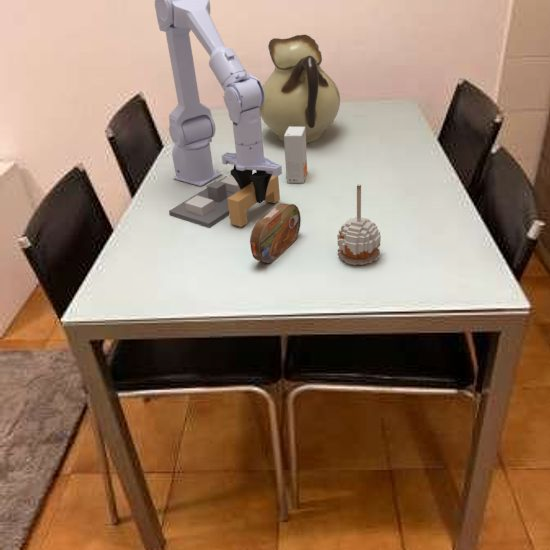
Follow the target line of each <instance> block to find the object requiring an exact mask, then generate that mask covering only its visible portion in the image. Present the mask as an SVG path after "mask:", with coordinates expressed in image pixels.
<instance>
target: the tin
mask: <svg viewBox="0 0 550 550" xmlns="http://www.w3.org/2000/svg"><path fill="white" fill-rule="evenodd" d="M301 221H302V220H301V211H300V210H299V207H298V206H297V205H296V204H295V203H294V204H293V203H285V202H284V203H283V202H282V203H279V204H277V205H276V206H275V207H273V208H272V209H271V210H270V211H269V212H268V213H267V214H265V215H264V216H263V217H262V218H261V219H260V220H259V221H257V223H256V224H255V225H254V226H253V228H252V231H251V233H250V237H249V245H250V251H251V254H252V257H253V258H254V259H255V260H256V261H259V262H264V263H265V264H271V263H273V262H275V261H276V260H277V259H278V258H279V257H280V256H281V255H282V254H284V252H285V251H286V250H287V249H288V248H289V247H291V245H292V244H294V242H295V241H296V240H297V239H298V238H297V237H298V235H299V234H300V229H301Z"/></svg>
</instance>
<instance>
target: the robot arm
mask: <svg viewBox="0 0 550 550" xmlns="http://www.w3.org/2000/svg"><path fill="white" fill-rule="evenodd" d="M154 9H155V12H156V15H155V16H156V20H157V24H158V29H159V31H160V32H164V33H165V37H166V43H167V48H168V53H169V59H170V65H171V70H172V71H171V72H172V75H173V82H174V88H175V93H176V98H177V105H176V106H175V107H174V108H173V110H172V111H170V113H169V115H168V119H169V128H168V130H169V136H170V138H171V141H172V143H173V147H172V152H171V156H172V161H173V169H174V172H175V175H174V176H173V179H174V180H177V181H181V182H183V183H184V182H185V183H188V184H192V185H195V186H198V187H202V186H205V185H206V184H207V183H209V182H211V181H213V180H215V179H216V178H218V177H219V176H221V175H223V174H222V172H221V171H217V170H214V164H213V157H212V156H213V155H212V150H211V143H212V142H213V138H214V137H215V134H216V130H217V129H216V124H215V120H214V118H213V116H212V112H211V109H210V108H209V107H208V106H207V105H206V104H203V103H202V102H201V101H200V96H199V95H200V93H199V88H198V82H197V75H196V68H195V62H194V57H193V49H192V45H191V37H190V32H192V33H193V34H194V36H195V37H196V39H197V40H198V42H199V43H200V44H201V46H202V47H203V49H204V50H205V51H206V53H207V54H208V55H209V57H210V58H209V60H208V65H209V68H210V69H211V71H212V72H213V75H214V76H215V78H216V80H217V81H218V83H219V85H220V86H221V88H222V90H223V91H224V94H223V100H224V101H223V102H224V104H225V107H226V108H227V112H228V117H229V120H230V121H231V122H232V128H233V129H232V130H233V138H234V146H235V147H234V148H235V152H234V153H233V152H228V151H227V152H226V153H223V154H222V155H221V162H222V164H223V165H233V168H232V169H231V170H230V175H232V176H233V177H234V179H235V180H236V182H237V183H238V185H239V187H240V189H243V188H244V187H246V186H248V185H249V184H251V183H253V185H254V189H255V195H256V200H257V203H256V204H261V203H263V202H265V201H264V200H265V198H266V192H267V187H268V184H269V181H270V179H271V176H272V174H273V176H274V177H277V176H278V177H279V176H280V175H282V174H283V168H282V166H283V165H282V164H279V163H277V162H274V161H272V160H271V159H269V158H267V157H266V156H265V151H264V139H263V130H262V118H261V116H260V108H259V107H260V106H262V105H263V104H264V101H265V93H264V89H263V85H262V83H261V80H260V79H259V78H257V77H256V76H254V75H253V74H252V73H250V72H249V73H248V72H247V70H246V69H245V67H244V65H243V64H242V62H241V61H240V59H239V57H238V55H237V54H236V51H235V50H234V49H232V48H231V47H228V46H225V44H224V42H223V39H222V38H221V35H220V34H219V31H218V29H217V27H216V25H215V23H214V21H213V19H212V17H211V3H210V0H154ZM253 171H255V172H254V173H253Z"/></svg>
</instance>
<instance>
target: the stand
mask: <svg viewBox="0 0 550 550" xmlns="http://www.w3.org/2000/svg"><path fill="white" fill-rule="evenodd" d="M240 190H241V189H240V187H239V185H238V183H237V182H236V180H235V179H234V177H233V176H232V175H231V174H230V175H227V176H225V177H223V178H221V179H219V180H214V181H212V182H211V183H209V184H207V185H206V188H204V189H203V190H201V191H200V192H198V193H195V194H194V195H193V196H191V197H190V198H188V199H185V201H182V202H181V203H179V204H178V205H176V206H174V207H173V208H171V209H170V210H169V211H168V212H169V214H168V215H169V216H172V217H176V218H179V219H180V220H184V221H188V222H191V223H194V224H197V225H199V226H202V227H203V226H204V227H206V228H211V227H213V226H214V225H216V224H217V223H220V221H223V219H225V218H226V217H228V216H230V215H229V208H228V200H227V198H229V197H230V196H232V195H234V194H235V193H237V192H238V191H240Z"/></svg>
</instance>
